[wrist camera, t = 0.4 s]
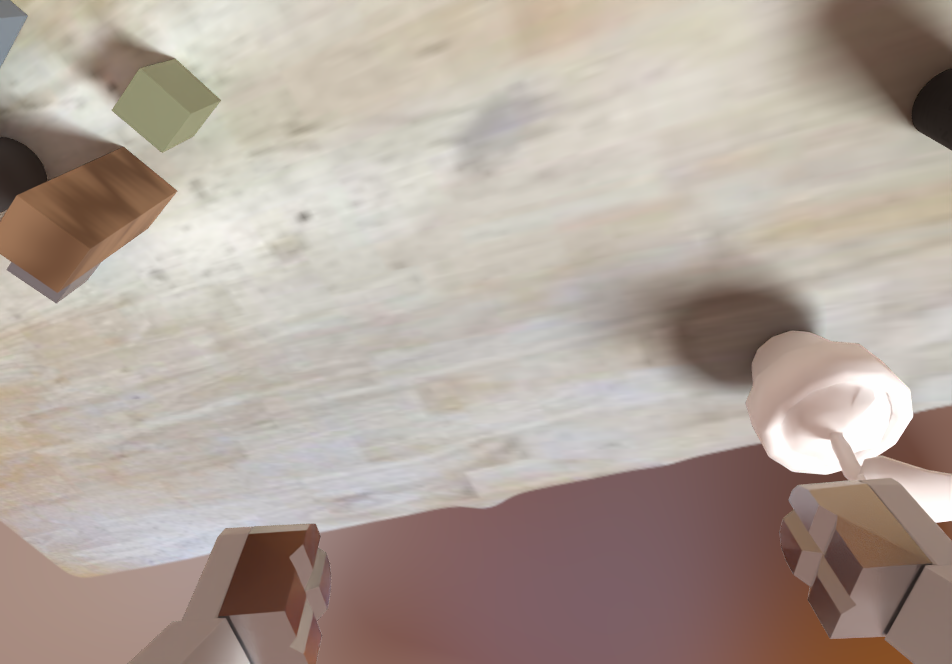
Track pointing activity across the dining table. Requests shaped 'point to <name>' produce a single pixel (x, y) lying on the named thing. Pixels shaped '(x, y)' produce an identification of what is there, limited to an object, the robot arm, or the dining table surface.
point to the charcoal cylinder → (17, 171)
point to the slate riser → (9, 26)
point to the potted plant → (837, 415)
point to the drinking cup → (935, 109)
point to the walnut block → (82, 217)
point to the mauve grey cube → (45, 289)
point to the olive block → (165, 104)
